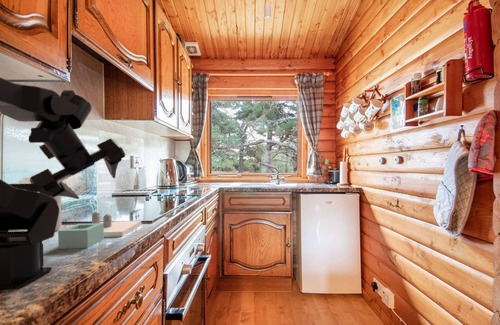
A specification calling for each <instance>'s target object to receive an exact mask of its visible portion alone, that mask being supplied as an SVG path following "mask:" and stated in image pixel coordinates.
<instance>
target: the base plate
mask: <svg viewBox="0 0 500 325" xmlns="http://www.w3.org/2000/svg"><path fill="white" fill-rule="evenodd" d="M112 218H113V217H112V215H111V214H108V213H106V214H104V215H103V218H102V219H103V220H102V221H101V214H100V212H99V211H94V212H93V213H92V214H91V223H103V225H104V238H111V237H125V235H127V234H129V233H130V232H132V231H134V230H135V229H137V228H139V227H140V226H142V220H130V221H129V220H126V221H125V220H124V221H123V220H120V221H119V220H118V221H117V220H115V221H112Z"/></svg>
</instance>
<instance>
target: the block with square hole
mask: <svg viewBox="0 0 500 325" xmlns="http://www.w3.org/2000/svg"><path fill="white" fill-rule="evenodd" d="M57 233H58V234H57V236H58V237H57V239H58V242H57V243H58V244H57V245H58V250H64V249H66V250H67V249H89V248H90V247H93V246H94V245H95V244H97V243H100V242H101V241H103V240H104V238H105V237H104V225H103V223H92V222H90V223H75V224H73V225H70V226H68V227H65V228H62V229H60V230H57Z"/></svg>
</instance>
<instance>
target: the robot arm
mask: <svg viewBox="0 0 500 325" xmlns="http://www.w3.org/2000/svg"><path fill="white" fill-rule="evenodd" d="M91 112H92V104H91V103H90V102H89V101H88V100H87V99H86V98H84V97H83V96H80V95H78V94H76V93H75V91H74V90H72V89H70V90H69V89H68V90H67V89H66V90H65V89H64V90H62V92H61V94H58V92H57V91H55V90H53V89H50V88H45V87H41V86H36V85H26V84H21V83H16V82H13V81H11V80H7V79H5V78H3V77H0V114H2V115H4V116H6V117H8V118H10V119H12V120H15V121H18V122H24V123H25V122H26V123H27V122H38V124H37V126H35V127H31V128H30V133H29V136H28V143H30V144H31V143H32V144H35V143H41V145H39V146H38V147H39V149H40V150H41V151H42V153H43V154H44V155H45V156H46V158H47V159H48V160H51V159H53V158H55V159H56V160H57V162H59V164H60V165H61V166H62V167H63V168H62V169H61V170H58V171H57V172H54V173H53V172H52V171H51V170H50V169H49V168H46V169H45V170H42V171H40V172H38V173H36V174H33V175H32V176H30V178H29V183H8V182H6V181H5V180H2V179H1V178H0V289H20V288H23V287H24V286H26V285H28V284H30V283H31V282H33V281H34V280H36V279H38V278H40V277H42V276H43V275H46V274H47V273H49V272H51V271H52V267H51V266H44V263H45V262H44V243H43V242H44V241H47V240H49V239H52V238H53V237H54V236H55V234H56V233H55V232H56V231H55V228H56V224H57V220H58V215H59V206H58V205H57V204H58V203H57V201H56V200H55V199H54V198H53V197H56V196H61V197H67V198H72V199H76V200H79V199H80V196H79V195H78V194H77V193H76V192H75V191H74V190H73V189H72V188H71V187H69V186H68V185H67V184H66V183H64V182H63V181H65V180H67V179H69V178H71V177H73V176H74V175H77V174H78V173H81V172H82V171H85V170H86V169H88V168H90V167H91V166H93V165H95V163H97V162H99V161H102V159H103V160H104V163H105V165H106V166H105V167H106V168H107V169H108V172H109V175H111V177H112V179H116V175H117V169H118V165H119V163H120V162H122V159H124V158H125V157H126V153H125V150H124V149H123V147H122V146H121V145H120V144H119V143H118V142H117V141H116V140H115V139H113V138H108V139H106V140H104V141H102V142H101V143H98V144H96V147H97V149H98V150H96V151H94V152H92V153H90V152H89V151H88V149H87V148H86V147H85V145H84V143H83V142H82V139H80V138H79V136H78V135H77V133H76V132H75V130H77V129H80V128H82V126H83V124H84V123H85V121H86V120H87V118H88V116H89V115H90V113H91ZM42 143H43V144H42Z"/></svg>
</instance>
